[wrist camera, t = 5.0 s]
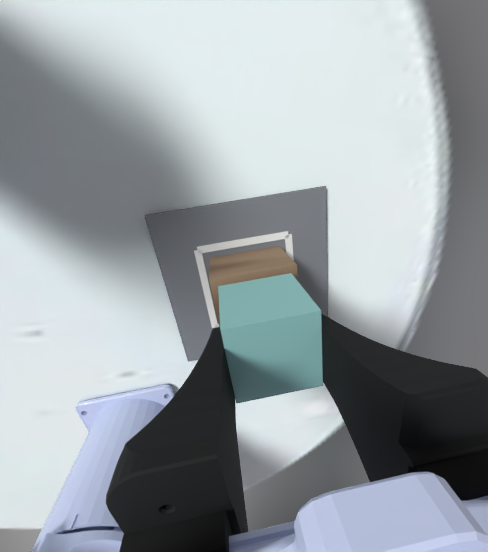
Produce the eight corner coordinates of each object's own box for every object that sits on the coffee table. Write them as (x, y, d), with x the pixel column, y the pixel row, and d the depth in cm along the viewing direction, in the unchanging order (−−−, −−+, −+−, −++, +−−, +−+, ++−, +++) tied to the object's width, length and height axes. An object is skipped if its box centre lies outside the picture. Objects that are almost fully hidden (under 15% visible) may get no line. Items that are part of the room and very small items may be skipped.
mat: (326, 331, 21) (328, 334, 21) (188, 358, 21) (188, 361, 20) (324, 186, 17) (326, 186, 16) (145, 215, 16) (144, 216, 16)
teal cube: (295, 333, 15) (322, 385, 11) (230, 346, 15) (236, 403, 11) (291, 273, 13) (321, 310, 10) (218, 286, 13) (220, 329, 9)
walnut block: (284, 306, 20) (301, 336, 16) (222, 318, 19) (224, 351, 16) (279, 245, 18) (296, 264, 14) (209, 257, 17) (208, 280, 14)
